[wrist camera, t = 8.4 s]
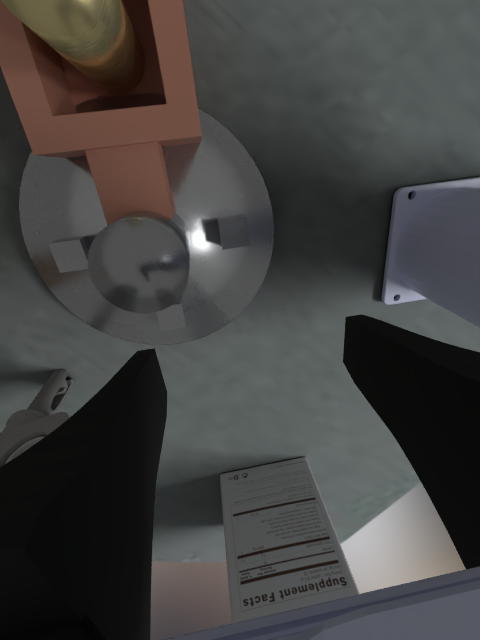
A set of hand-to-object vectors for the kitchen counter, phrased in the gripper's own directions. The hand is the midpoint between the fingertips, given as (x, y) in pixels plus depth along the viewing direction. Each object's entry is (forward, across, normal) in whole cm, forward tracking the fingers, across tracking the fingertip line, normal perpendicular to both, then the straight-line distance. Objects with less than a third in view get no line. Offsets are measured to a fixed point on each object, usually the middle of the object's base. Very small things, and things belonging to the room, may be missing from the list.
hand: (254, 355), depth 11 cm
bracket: (+10, +4, -9) cm, 14 cm away
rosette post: (+10, +4, -3) cm, 11 cm away
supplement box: (+10, -1, +24) cm, 26 cm away
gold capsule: (+9, +4, -11) cm, 15 cm away
